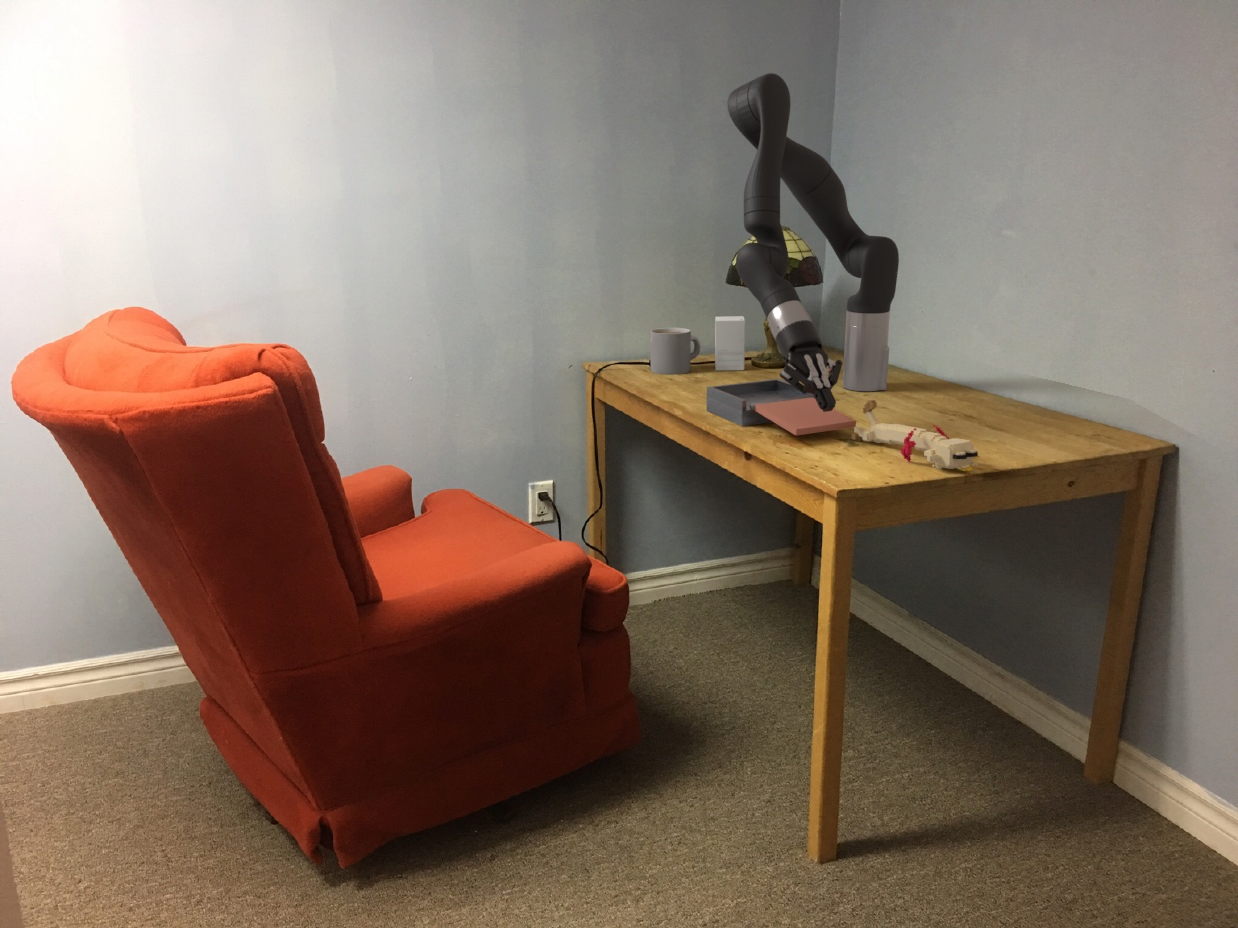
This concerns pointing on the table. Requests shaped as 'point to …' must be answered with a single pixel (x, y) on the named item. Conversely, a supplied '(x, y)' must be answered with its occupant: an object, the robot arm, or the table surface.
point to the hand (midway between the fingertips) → (829, 409)
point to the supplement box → (729, 342)
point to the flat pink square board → (803, 416)
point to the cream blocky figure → (918, 442)
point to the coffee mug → (672, 350)
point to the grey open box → (748, 399)
